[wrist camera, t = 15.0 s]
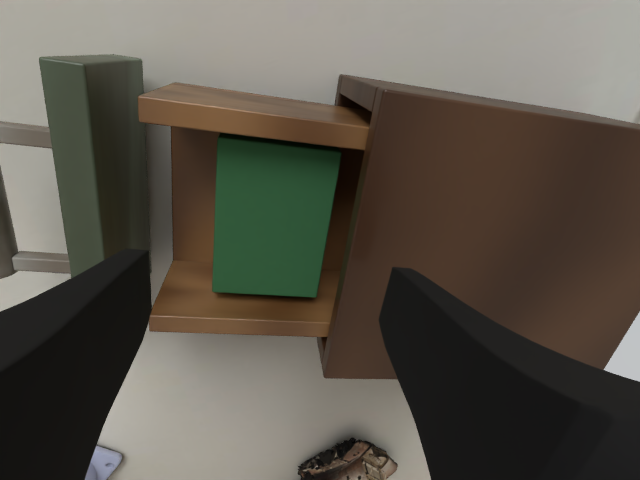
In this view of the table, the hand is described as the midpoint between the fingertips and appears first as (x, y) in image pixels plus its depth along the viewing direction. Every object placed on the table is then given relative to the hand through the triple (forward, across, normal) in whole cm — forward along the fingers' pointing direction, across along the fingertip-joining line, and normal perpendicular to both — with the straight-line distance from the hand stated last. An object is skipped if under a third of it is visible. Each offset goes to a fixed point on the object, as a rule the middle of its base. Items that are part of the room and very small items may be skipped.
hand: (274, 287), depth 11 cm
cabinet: (+10, -10, 0) cm, 14 cm away
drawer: (+9, +3, 0) cm, 9 cm away
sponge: (+8, 0, 0) cm, 8 cm away
